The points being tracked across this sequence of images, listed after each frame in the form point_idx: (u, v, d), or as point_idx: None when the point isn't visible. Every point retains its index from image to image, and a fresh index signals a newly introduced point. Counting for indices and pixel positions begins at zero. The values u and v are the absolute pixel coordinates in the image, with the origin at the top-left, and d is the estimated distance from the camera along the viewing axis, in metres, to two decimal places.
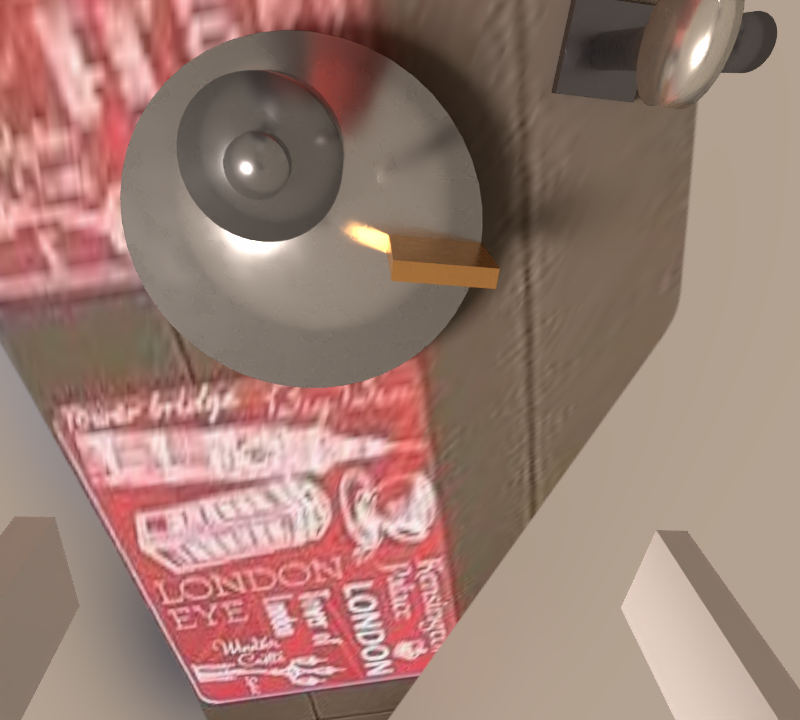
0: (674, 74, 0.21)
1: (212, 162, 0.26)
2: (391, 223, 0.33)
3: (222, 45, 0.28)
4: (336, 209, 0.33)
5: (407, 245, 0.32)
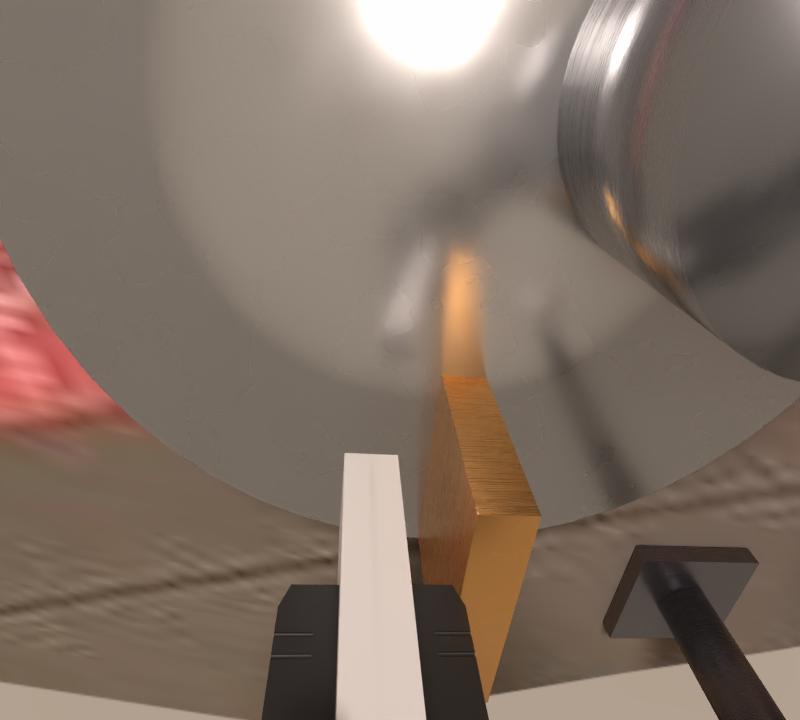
0: None
1: None
2: (512, 382, 0.14)
3: None
4: (561, 260, 0.13)
5: None
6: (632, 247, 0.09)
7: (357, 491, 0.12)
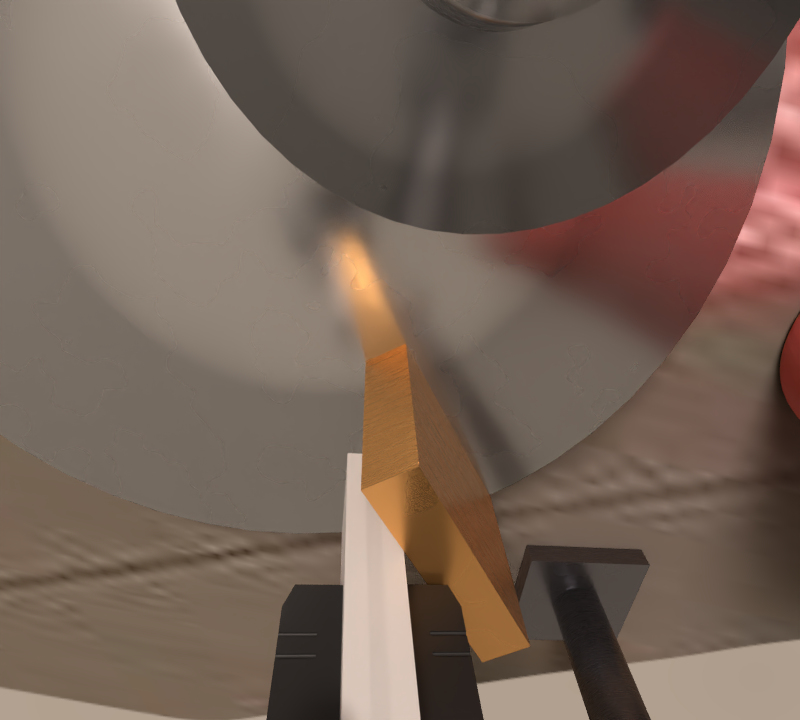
0: None
1: None
2: (432, 335, 0.14)
3: None
4: None
5: (428, 414, 0.13)
6: None
7: (361, 491, 0.12)
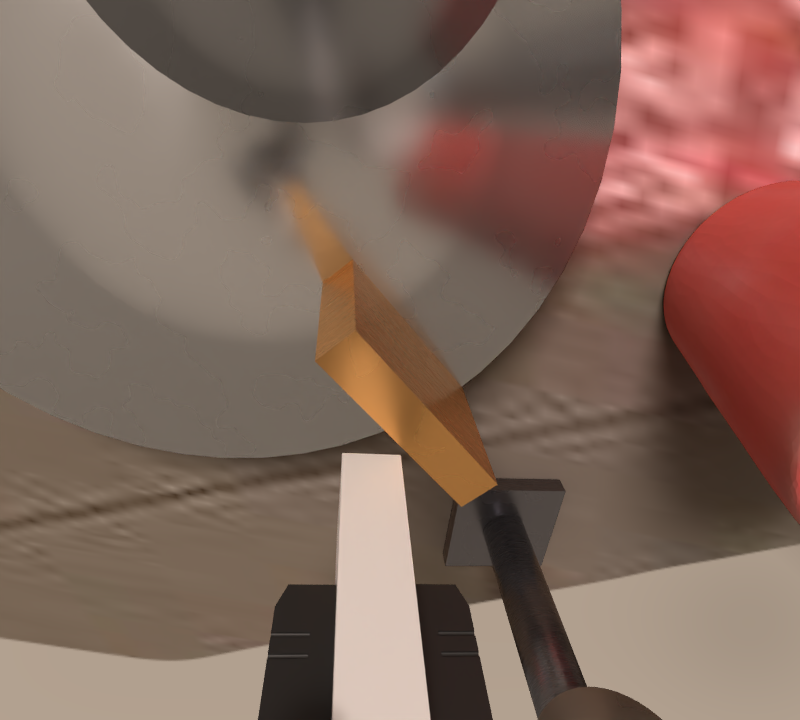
0: None
1: None
2: (373, 247, 0.16)
3: None
4: (310, 138, 0.14)
5: (377, 309, 0.15)
6: None
7: (355, 491, 0.12)
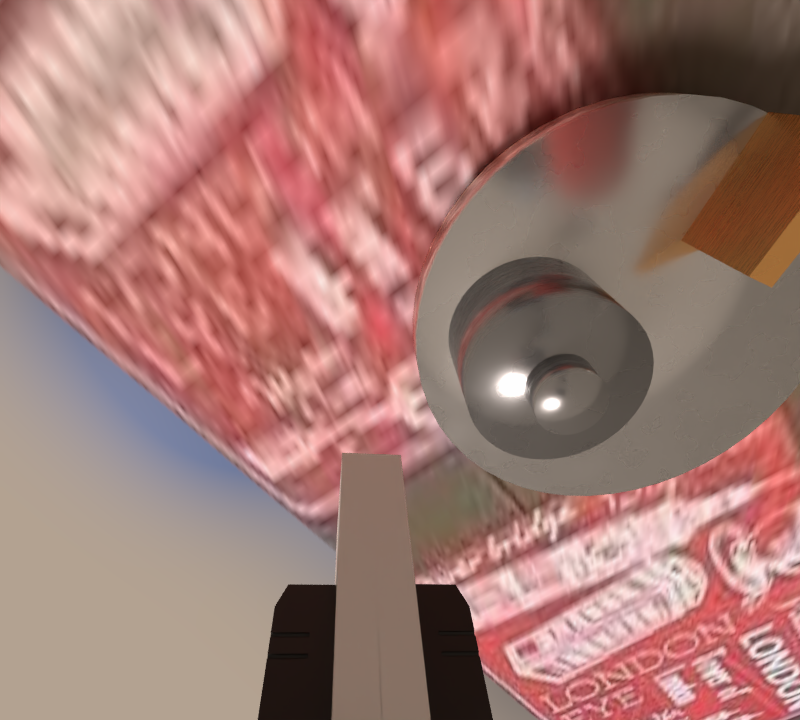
0: None
1: (536, 428, 0.24)
2: (670, 232, 0.25)
3: (418, 345, 0.27)
4: (618, 291, 0.26)
5: (720, 231, 0.23)
6: None
7: (355, 491, 0.12)
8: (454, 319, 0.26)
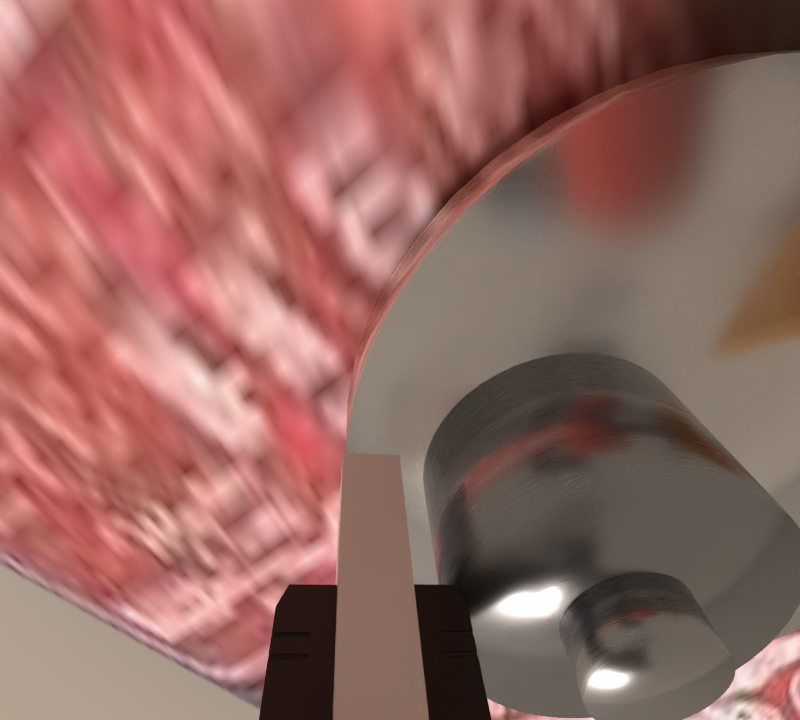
0: None
1: None
2: (784, 303, 0.14)
3: None
4: (688, 400, 0.15)
5: None
6: None
7: (355, 491, 0.12)
8: (430, 461, 0.15)
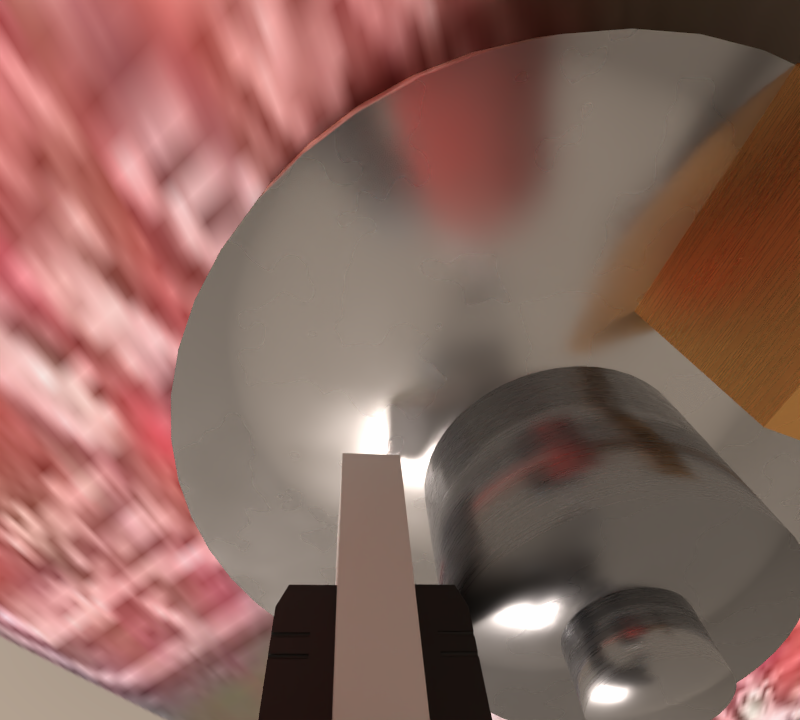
0: None
1: None
2: (613, 298, 0.13)
3: (186, 494, 0.16)
4: None
5: (702, 306, 0.12)
6: None
7: (355, 491, 0.12)
8: (433, 469, 0.15)
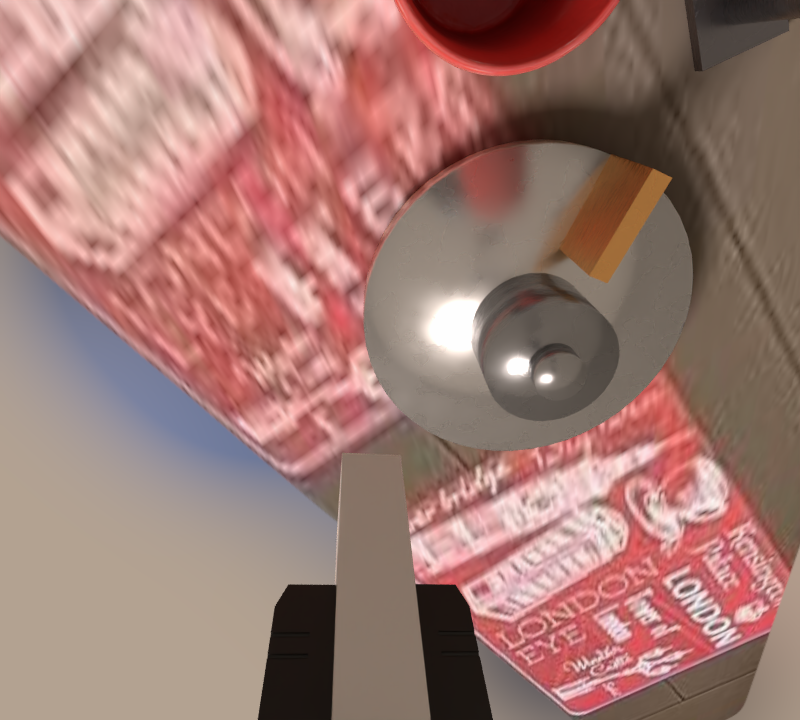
0: None
1: (536, 397, 0.33)
2: (549, 242, 0.33)
3: (365, 332, 0.35)
4: None
5: (578, 242, 0.31)
6: None
7: (355, 491, 0.12)
8: (475, 318, 0.35)
